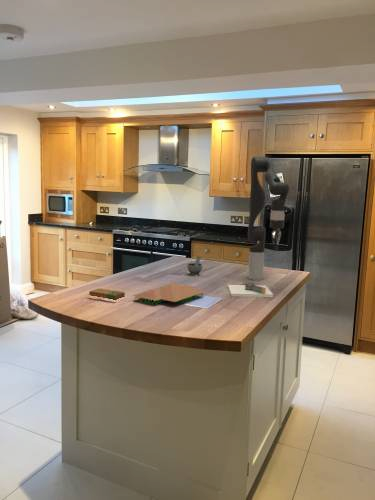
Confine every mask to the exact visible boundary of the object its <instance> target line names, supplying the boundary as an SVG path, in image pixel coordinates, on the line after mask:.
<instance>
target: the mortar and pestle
mask: <svg viewBox="0 0 375 500" xmlns="http://www.w3.org/2000/svg"><path fill="white" fill-rule="evenodd" d="M201 258H202V257H201V256H200V255H197V256H196V259H195V262H190V263H186V264H187V270H188V272H189V276H191V275H199V276H200V272H201V271H202V270H203V264H202V263H200V262H201V261H200V260H201Z"/></svg>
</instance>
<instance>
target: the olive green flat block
mask: <svg viewBox="0 0 375 500" xmlns="http://www.w3.org/2000/svg"><path fill="white" fill-rule="evenodd" d="M89 295H91V296H97V297H103V298H108V299H113V300H117V299H119V298H122V297H125V295H126V294H125V292H124V291H119V290H114V289H113V290H111V289H106V288H95V289H93V290H89V293H88V296H89Z"/></svg>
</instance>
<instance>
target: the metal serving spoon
mask: <svg viewBox="0 0 375 500" xmlns="http://www.w3.org/2000/svg"><path fill="white" fill-rule="evenodd" d="M244 285H245V289H246V290H254V291H258V292H261V293H265V289H266V288H262V287H259V286H256V285H257V284H256V285H255V283H253V282H246V283H245V284H244Z"/></svg>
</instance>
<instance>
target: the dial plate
mask: <svg viewBox="0 0 375 500" xmlns="http://www.w3.org/2000/svg"><path fill="white" fill-rule="evenodd" d="M256 286H259V287H262V288H266V289H265V293H261V292H258V291H254V290H246V289H245V284H227V289H228V292H229V293H230V296H231V297H236V298H237V297H238V298H239V297H241V298H242V297H243V298H248V297H249V298H274V294H273V292H272V291H271V289H269V287H268V286H267V285H257V284H256Z"/></svg>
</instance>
